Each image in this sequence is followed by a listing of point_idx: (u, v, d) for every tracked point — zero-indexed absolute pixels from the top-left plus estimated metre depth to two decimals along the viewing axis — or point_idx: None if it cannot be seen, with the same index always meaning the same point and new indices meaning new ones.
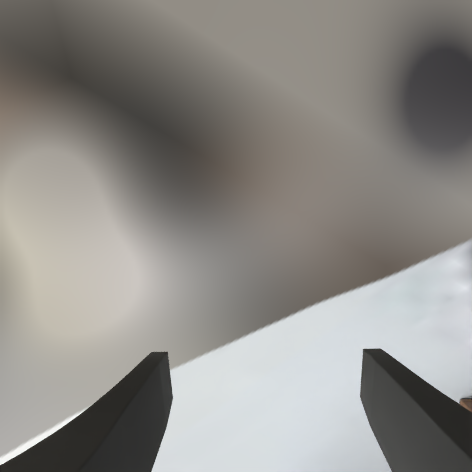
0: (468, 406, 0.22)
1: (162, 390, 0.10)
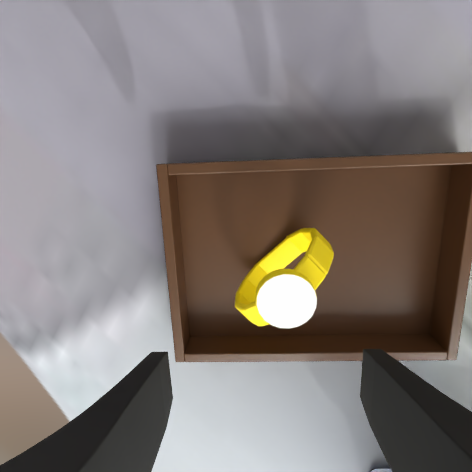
0: None
1: (162, 390, 0.10)
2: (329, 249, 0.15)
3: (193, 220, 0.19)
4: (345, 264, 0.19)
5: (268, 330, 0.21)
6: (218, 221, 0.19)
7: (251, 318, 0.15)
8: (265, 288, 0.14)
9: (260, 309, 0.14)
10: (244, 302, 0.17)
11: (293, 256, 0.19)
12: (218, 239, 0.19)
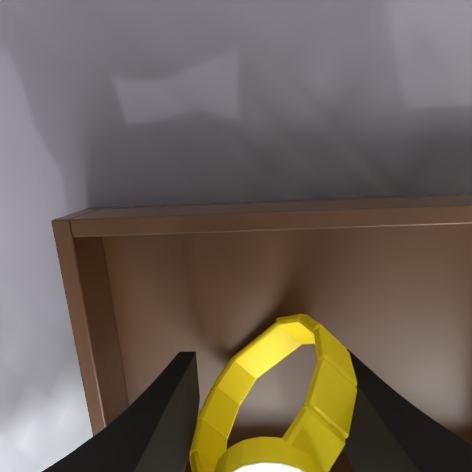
0: None
1: (192, 390, 0.10)
2: (349, 375, 0.09)
3: (132, 294, 0.12)
4: (367, 358, 0.13)
5: None
6: (170, 296, 0.12)
7: None
8: None
9: None
10: (207, 443, 0.10)
11: (288, 349, 0.12)
12: (172, 322, 0.13)
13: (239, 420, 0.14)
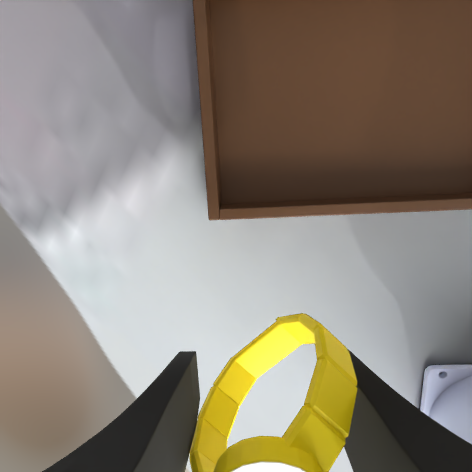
0: None
1: (192, 390, 0.10)
2: (349, 375, 0.09)
3: (228, 52, 0.16)
4: (405, 104, 0.17)
5: (313, 193, 0.18)
6: (257, 52, 0.16)
7: None
8: None
9: None
10: (207, 442, 0.10)
11: (288, 349, 0.12)
12: (257, 76, 0.17)
13: (304, 167, 0.18)
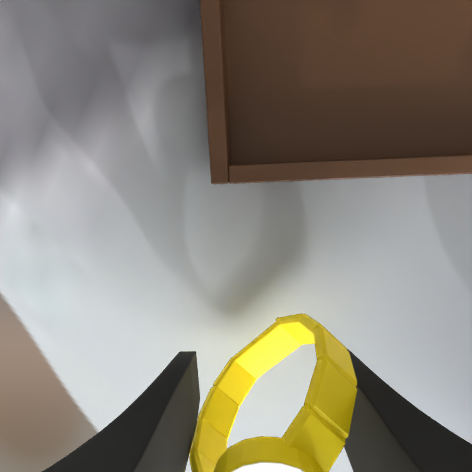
0: None
1: (192, 390, 0.10)
2: (349, 375, 0.09)
3: None
4: None
5: (372, 148, 0.12)
6: None
7: None
8: None
9: None
10: (207, 443, 0.10)
11: (288, 349, 0.12)
12: None
13: (360, 105, 0.11)
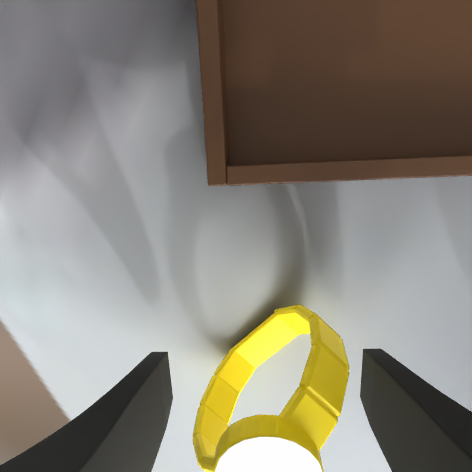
0: None
1: (162, 390, 0.10)
2: (341, 360, 0.09)
3: None
4: None
5: (381, 147, 0.11)
6: None
7: None
8: (229, 458, 0.08)
9: None
10: (209, 426, 0.11)
11: (285, 339, 0.13)
12: None
13: (368, 102, 0.11)
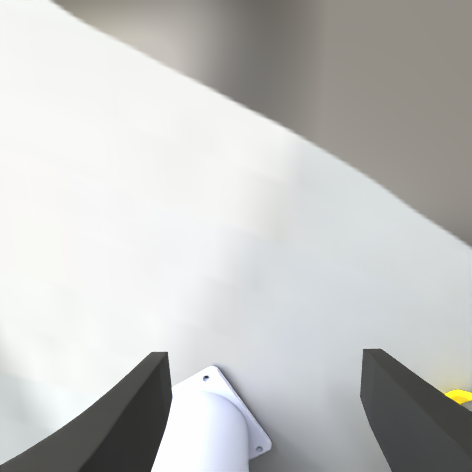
0: None
1: (162, 390, 0.10)
2: None
3: None
4: None
5: None
6: None
7: None
8: None
9: None
10: None
11: None
12: None
13: None
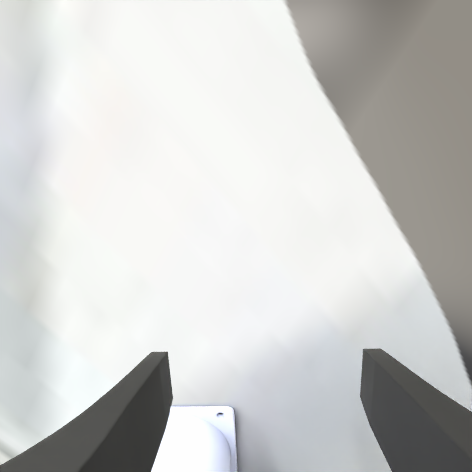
0: None
1: (162, 390, 0.10)
2: None
3: None
4: None
5: None
6: None
7: None
8: None
9: None
10: None
11: None
12: None
13: None
